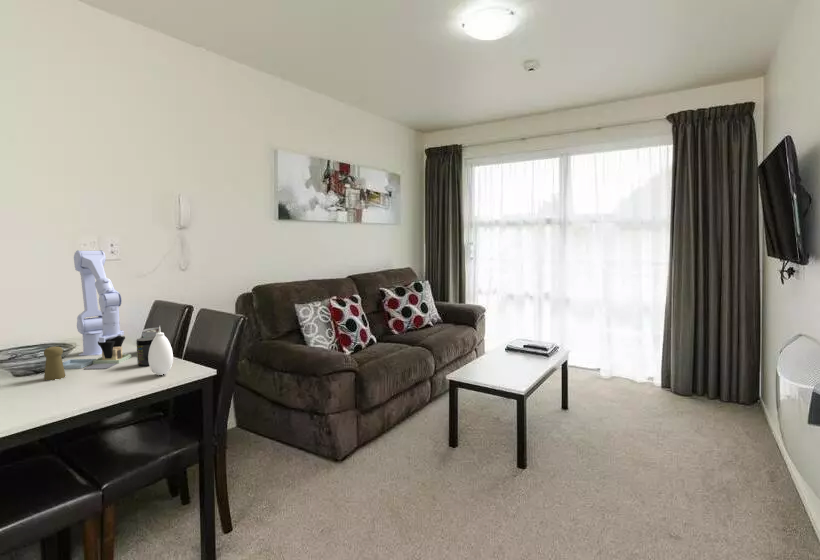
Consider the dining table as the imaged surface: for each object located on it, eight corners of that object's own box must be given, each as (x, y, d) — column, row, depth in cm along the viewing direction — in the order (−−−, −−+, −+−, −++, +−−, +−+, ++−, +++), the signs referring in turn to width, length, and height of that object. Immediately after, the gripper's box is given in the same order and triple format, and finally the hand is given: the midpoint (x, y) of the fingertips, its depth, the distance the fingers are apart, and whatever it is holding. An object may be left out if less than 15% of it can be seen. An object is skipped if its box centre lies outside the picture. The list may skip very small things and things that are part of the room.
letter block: (109, 358, 183) (108, 346, 183) (122, 358, 184) (122, 346, 183) (102, 362, 178) (101, 349, 178) (116, 361, 179) (115, 349, 179)
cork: (53, 381, 154) (51, 349, 154) (39, 380, 156) (37, 348, 155) (70, 376, 160) (68, 345, 160) (56, 375, 162) (54, 344, 161)
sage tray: (106, 358, 185) (106, 354, 185) (131, 357, 186) (131, 354, 186) (93, 364, 176) (92, 360, 176) (119, 364, 177) (118, 360, 177)
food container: (144, 350, 200) (143, 328, 199) (159, 349, 202) (159, 327, 202) (140, 356, 189) (139, 333, 188) (157, 355, 191) (156, 332, 190)
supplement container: (150, 367, 172) (150, 340, 171) (133, 367, 172) (132, 340, 171) (160, 363, 179) (160, 337, 178) (143, 363, 179) (143, 337, 178)
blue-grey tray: (70, 363, 178) (70, 359, 178) (96, 362, 179) (96, 358, 179) (54, 369, 168) (53, 365, 168) (81, 369, 169) (81, 365, 169)
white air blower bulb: (174, 376, 162) (172, 326, 160) (149, 379, 157) (147, 328, 156) (172, 370, 168) (171, 323, 167) (148, 373, 164) (146, 324, 163)
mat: (94, 365, 175) (94, 363, 175) (116, 364, 176) (116, 363, 176) (83, 370, 168) (83, 368, 168) (106, 369, 169) (106, 368, 169)
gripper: (111, 326, 173) (113, 360, 174) (130, 319, 188) (132, 352, 189) (92, 326, 172) (93, 361, 173) (112, 320, 187) (114, 352, 188)
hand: (112, 356), depth 181 cm, fingers open, 5 cm apart
